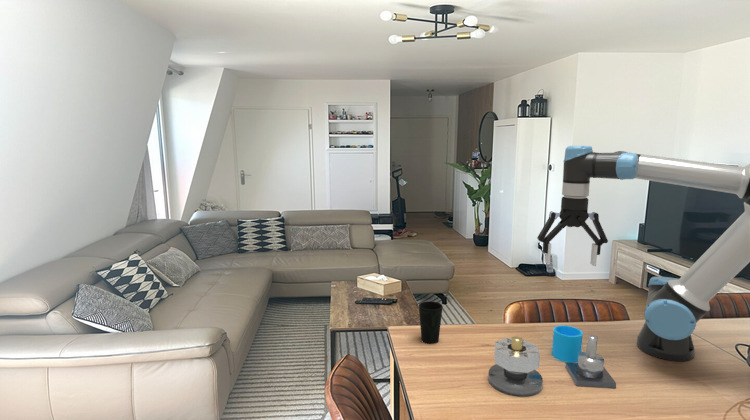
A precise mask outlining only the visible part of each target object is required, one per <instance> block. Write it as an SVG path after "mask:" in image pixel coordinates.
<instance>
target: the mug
mask: <svg viewBox="0 0 750 420" xmlns="http://www.w3.org/2000/svg"><path fill="white" fill-rule="evenodd" d="M583 334H584V332H583V330H581V329H579V328H578V327H575V326H570V325H564V324H562V325H556V326H554V327H553V335H552V348H551V349H552V351H551V355H552V357H553V358H554V359H556V360H558V361H560V362H563V363H566V362H568V363H578V354H579V353H580V352H582V349H583V338H584V337H583V336H584V335H583Z"/></svg>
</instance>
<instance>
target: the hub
mask: <svg viewBox="0 0 750 420" xmlns="http://www.w3.org/2000/svg"><path fill="white" fill-rule="evenodd" d="M511 338H512V342H511V350H512V351H516V352H522V342H523V339H524V338H523V337H520V336H512V337H511ZM487 379H488V382H489V384H490V385H491V386H492V388H494V389H495V390H497V391H498V392H500V393H503V394H505V395H509V396H514V397H522V398H523V397H532V396H535V395H538V394H539V393H540V392H541V391H542V389H543V381H544V380H543V376H542V374H541V373H540V372H539V371H537V369H535V370H533V371H531V372H528V373H524V372H515V371H508V370H506V369H504V368H503V367H501V366H499V365H497V364H493V365H492V366H490V368H488V378H487Z"/></svg>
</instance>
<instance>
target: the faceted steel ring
mask: <svg viewBox="0 0 750 420" xmlns="http://www.w3.org/2000/svg"><path fill="white" fill-rule="evenodd" d="M522 339H523V342H522V352H516V351H512V350H511V342H512V337H505V338H502V339H498V340H497V341H494V356H493V357H494V363H495V364H497V365H499V366H501V367H503V368H504V369H506V370H508V371H515V372H524V373H528V372H531V371H533V370H538V369H539V368H540V359H541V352H540V350H539V347H538V345H537V344H534V343H533V342H530V341H528V340H527V339H526V340H525V339H524V338H522ZM495 364H494V365H495Z"/></svg>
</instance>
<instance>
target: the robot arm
mask: <svg viewBox="0 0 750 420" xmlns="http://www.w3.org/2000/svg"><path fill="white" fill-rule="evenodd" d="M563 159H564V160H563V169H562V170H563V172H562V173H563V174H562V189H561V195H562V196H561V203H560V204H561V205H560V212H554V211H553V210H552V211H549V215H548V219H547V220H546V222H545V224H544V226H543V227H542V229H541V230H540V232H539V233H538V236H537V237H536V239H537V241H539V242H541V243H542V252H543V254H545V260H544V261H545V263H546V264H547V265H548V266H549V265H551V254H552V243H551V241H553V239H555V237H556V236H557V235H558V234H559V233H561V231H563V229H565V228H566V227H568V228H573V227H575V228H580V227H581V228H582V229H583V230H584V231H585V232H586V233H587V234H588V236H589V237H590V238H591V240H592V241H593V242H594V243H593V242H592V243H591V252H590V265H591V266H594V267H597V258H598V256H600V255H601V247H602V246H603V244H607V243H608V242H609V240H608V237H607V235H606V233H605V231H604V229H603V227H602V224H601V223H600V216H599V213H598V212H595V211H593V212H590V213H589V212H588V211H589V210H588V209H589V198H588V197H589V196H590V183H591V181H590V180H591V179H592V178H593V179H607V180H609V179H612V180H621V181H623V180H634V179H637V180H644V181H648V182H649V181H650V182H657V183H661V184H663V183H664V184H670V185H676V186H683V187H688V188H696V189H702V190H708V191H716V192H722V193H726V194H732V195H733V194H734V195H737V196H738V198H739V199H742V200H745V201H744V202H743V207H744V212H742V214H741V215H739V216H738V218H736V220H735V221H734V222H733V223H732V224H731V225H730V226H729V227H728V228H727V229H726V230H725V231H724V232H723V233H722V234H721V235H720V236H719V238H717V239H716V240H715V241H714V243H713V244H711V245H710V247H709V248H708V249H707V250H706V251H705V252H704V253H703V254H702V255H701V256H700V257H699V258H698V259H697V260H696V261H695V262H694V263H693V264H692V265H691V266H690V267H689V268H688V269H687V270H686V271H685V272H684V273H683V274H682V275H681V276H680V278H676V277H675V278H674V277H669V276H668V277H667V276H652V277H651V278H650V279H649V283H648V284H647V286H648V292H647V297H646V298H647V300H646V303H645V308H644V311H643V314H644V315H643V316H644V324H643V326H642V328H641V330H640V332H639V333H638V335H637V338H636V346H637V347H638V348H639V349H640V351H642V352H643V353H645V354H648V355H649V356H652V357H656V358H658V359H659V358H660V359H663V360H667V361H675V362H685V361H690V360H693V359H694V357H695V349H696V348H695V346H694V341H693V338H692V334H693V333H694V331H695V330H696V327H697V323H698V322H699V321H700V320H701V319H702V318H703V317H704V316H705V315H706V314H707V313H708V312H709V311H711V308H710V307H711V305H710V301H711V300H712V299H713V298H714V297H715V296H716V295H717V294H718V293H720V291H721V290H723V289H724V287H726V286H727V284H729V282H731V281H732V280H733V279H734V278H735V277H736V276H737V275H739V273H740V272H741V271H742V270H743V269H744V268H746V266H747V265H748V264H749V263H750V164H747V165H745V166H737V165H731V164H722V163H714V162H706V161H700V160H699V161H697V160H689V159H684V158H683V159H682V158H674V157H673V158H672V157H666V156H657V155H652V154H651V155H649V154H642V153H636V152H635V153H633V152H628V151H624V150H623V151H622V150H619V151H614V152H594V150H593V147H592V146H591V145H568V146H567V147H565V152H564V158H563ZM558 218H560V221H559V222H558V223H557V225H556V226H554V228H552V227H553V224H554V223H555V221H556V220H557V219H558ZM588 219H590V220H591V221H592V223H593V226H594V228H595V230H596V232H597V234H598V236H597V234H595V233H594V231H593V230H592V229H591V227H590V226H589V225H588V223H587V222H586V221H587V220H588ZM551 228H552V229H551ZM550 230H551V231H550ZM549 231H550V232H549Z"/></svg>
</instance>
